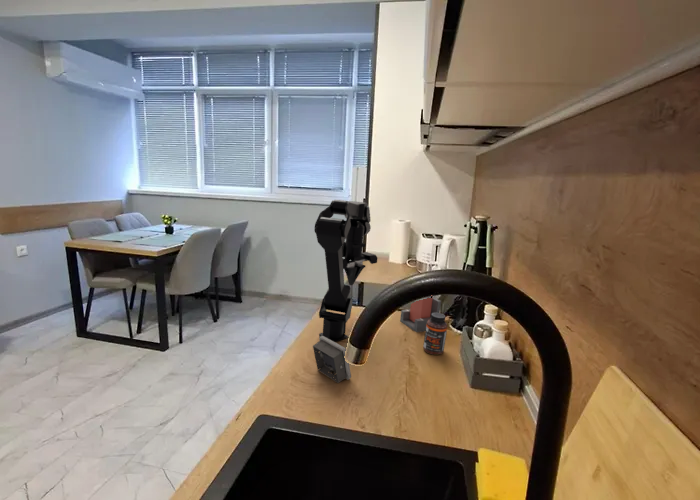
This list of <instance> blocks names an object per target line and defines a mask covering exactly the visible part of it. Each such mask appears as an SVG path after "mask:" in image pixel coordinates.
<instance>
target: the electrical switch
mask: <svg viewBox="0 0 700 500" xmlns="http://www.w3.org/2000/svg"><path fill="white" fill-rule="evenodd" d="M318 339H319V340H318V341H317V342H316V343H315V344H313V345H312V350H313V355H314V358H315V363H316V364H315V365H316V369H317V370H318V372H320V373H322V374H323V375H325V376H326V377H328V378H330V380H333V382H335V383H337V384H339V383H340V382H342V381H344V380H345V379H346V380H348V381H349V380H350V379H351V378H352V374H351V367H350V362H349V363H347V362H346V361H345V358H344V356H345V351H346V350H347V348H346V347H344V346H342V345H340V344H339V343H337V342H333V341H332V340H330V339H328V338H326V337H324V336H319V338H318ZM332 372H333V373H332Z"/></svg>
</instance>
